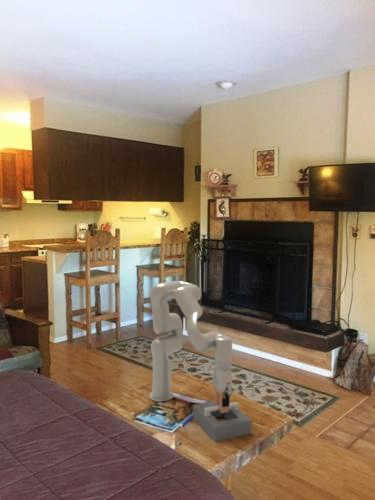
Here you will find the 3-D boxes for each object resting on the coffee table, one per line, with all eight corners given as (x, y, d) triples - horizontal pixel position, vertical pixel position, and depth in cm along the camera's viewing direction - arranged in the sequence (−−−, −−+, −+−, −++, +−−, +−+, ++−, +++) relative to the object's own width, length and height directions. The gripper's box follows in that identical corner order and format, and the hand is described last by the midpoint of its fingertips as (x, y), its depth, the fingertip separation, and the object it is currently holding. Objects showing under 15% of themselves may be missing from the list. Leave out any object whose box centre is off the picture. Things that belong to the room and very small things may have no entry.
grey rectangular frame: (192, 417, 198) (193, 397, 197) (226, 411, 206) (227, 392, 205) (214, 441, 178) (214, 419, 177) (251, 433, 185) (252, 412, 185)
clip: (214, 407, 193) (215, 387, 192) (222, 405, 195) (223, 385, 194) (221, 413, 187) (221, 392, 187) (229, 411, 189) (229, 391, 188)
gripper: (206, 358, 195) (206, 396, 197) (224, 372, 180) (223, 413, 181) (221, 356, 198) (220, 394, 200) (240, 369, 183) (239, 410, 184)
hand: (222, 402), depth 191 cm, fingers closed on clip, 6 cm apart
